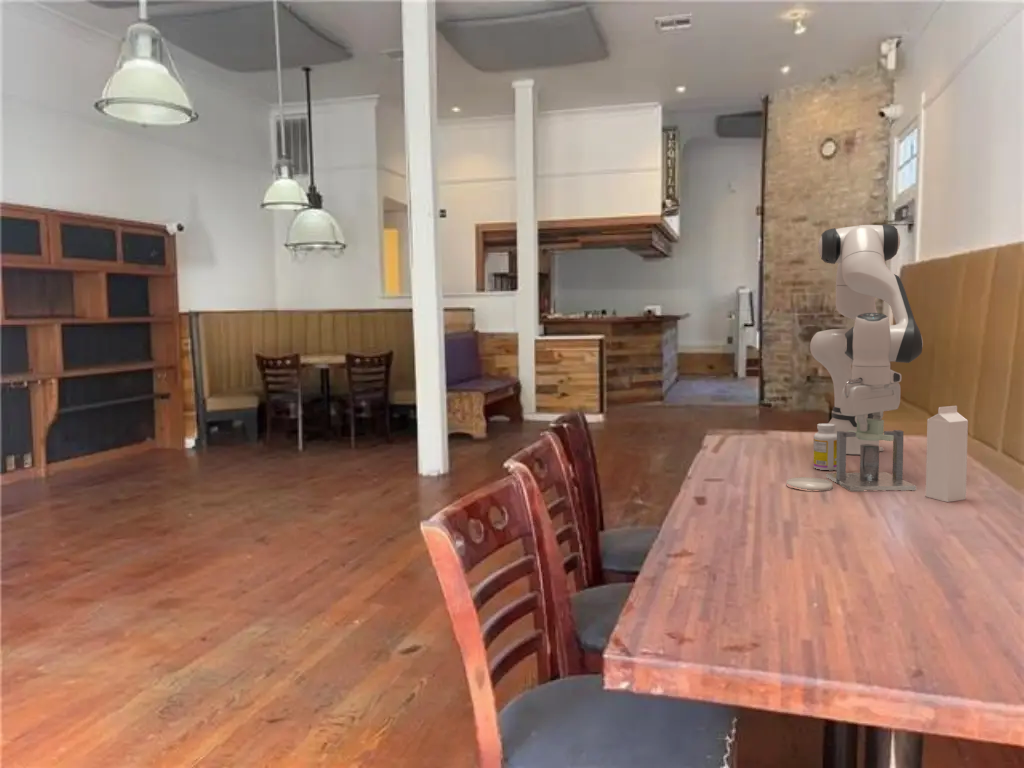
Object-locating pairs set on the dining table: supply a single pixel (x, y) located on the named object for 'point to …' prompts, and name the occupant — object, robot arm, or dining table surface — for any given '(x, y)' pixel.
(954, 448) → the milk
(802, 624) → the dining table surface
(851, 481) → the twin post base plate
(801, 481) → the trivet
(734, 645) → the dining table surface
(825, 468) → the supplement bottle
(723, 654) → the dining table surface
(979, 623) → the dining table surface
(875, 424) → the pale green disc-and-bar piece
